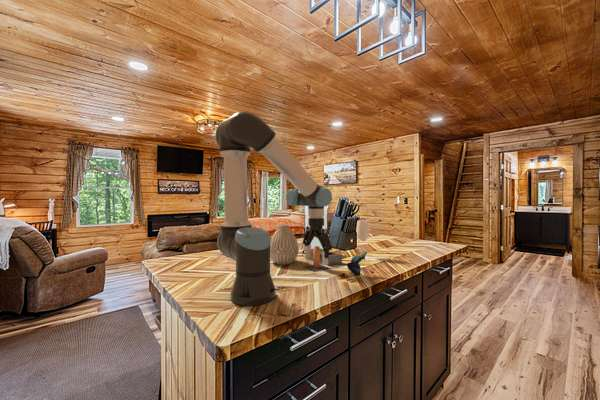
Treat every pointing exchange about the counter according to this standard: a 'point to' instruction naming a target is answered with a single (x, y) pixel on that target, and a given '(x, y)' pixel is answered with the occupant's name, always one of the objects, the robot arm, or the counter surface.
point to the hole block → (333, 257)
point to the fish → (356, 263)
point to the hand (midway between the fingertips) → (316, 261)
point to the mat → (316, 269)
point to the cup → (363, 229)
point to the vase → (283, 246)
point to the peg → (316, 257)
